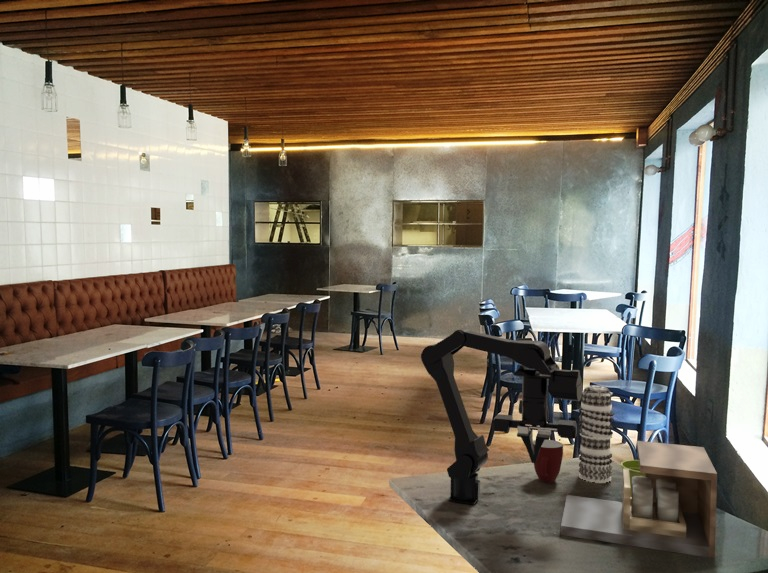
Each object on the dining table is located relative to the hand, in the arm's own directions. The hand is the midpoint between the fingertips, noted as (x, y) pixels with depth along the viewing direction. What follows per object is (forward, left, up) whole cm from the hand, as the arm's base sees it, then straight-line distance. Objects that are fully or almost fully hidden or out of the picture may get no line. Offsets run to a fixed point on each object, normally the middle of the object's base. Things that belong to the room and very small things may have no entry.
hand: (533, 462), depth 144 cm
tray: (+26, 0, -10) cm, 27 cm away
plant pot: (+24, +18, -12) cm, 32 cm away
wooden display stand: (+22, 0, -12) cm, 25 cm away
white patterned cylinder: (+13, +31, -12) cm, 36 cm away
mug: (+1, +23, -12) cm, 26 cm away
